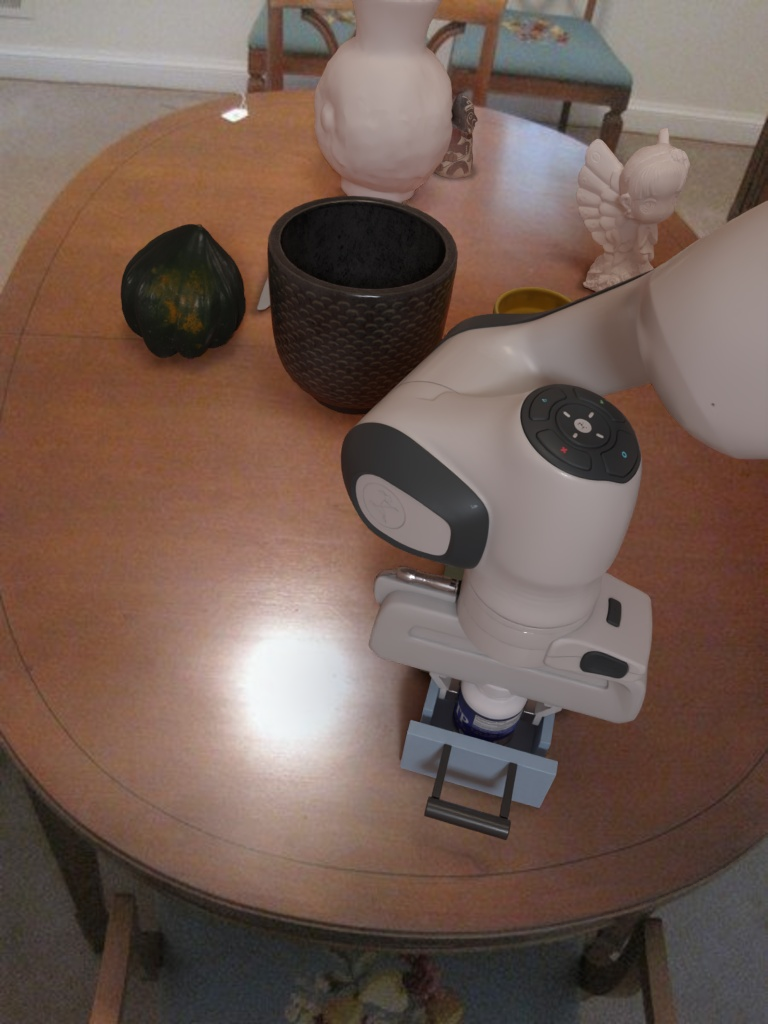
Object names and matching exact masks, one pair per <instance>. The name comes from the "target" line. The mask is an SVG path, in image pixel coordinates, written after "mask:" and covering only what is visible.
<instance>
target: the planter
mask: <svg viewBox="0 0 768 1024" xmlns="http://www.w3.org/2000/svg"><path fill="white" fill-rule="evenodd" d="M266 249H267V251H266V252H267V253H266V255H267V256H266V257H267V278H268V283H269V295H270V305H269V307H270V317H271V319H270V320H271V328H272V329H271V330H272V334H273V339H274V345H275V349H276V352H277V355H278V358H279V359H280V360H279V361H280V362H281V364H282V366H283V368H284V370H285V372H286V374H287V375H288V376H289V377H290V379H291V380H292V381H293V382H294V383H295V384H296V385H297V386H298V387H299V388H300V389H301V390H302V391H303V392H305V393H307V394H308V395H310V396H311V397H312V398H314V400H315V401H316V402H318V403H319V404H320V405H322V406H323V407H325V408H326V409H328V410H331V411H333V412H336V413H340V414H343V415H351V416H362V415H363V416H365V415H366V414H367V413H368V412H369V411H370V410H371V409H372V408H373V407H374V406H375V405H376V404H378V403H379V402H380V401H381V400H382V399H383V398H384V397H385V396H386V395H387V394H388V393H389V392H390V391H391V390H392V389H393V388H394V387H395V386H396V385H398V384H399V383H400V382H401V381H402V380H403V379H404V378H405V377H406V376H407V375H408V374H409V373H410V372H412V371H413V370H414V369H415V368H416V367H417V366H418V365H419V364H420V363H421V362H422V361H423V360H424V359H426V358H427V357H428V356H429V354H430V353H431V352H432V350H433V349H434V348H435V347H436V346H437V345H438V344H439V342H440V341H441V340H442V339H443V338H444V332H445V328H446V324H447V320H448V316H449V311H450V306H451V301H452V296H453V290H454V283H455V279H456V274H457V268H458V259H459V252H458V247H457V243H456V241H455V239H454V237H453V235H452V233H450V230H448V228H447V227H445V226H444V225H443V223H441V222H440V221H439V220H438V219H436V218H434V217H433V216H432V215H430V214H429V213H426V212H425V211H423V210H421V209H419V208H416V207H414V206H411V205H409V204H406V203H404V202H402V203H399V202H396V201H392V200H387V199H382V198H375V197H368V196H348V195H339V196H329V197H324V198H318V199H315V200H314V199H313V200H311V201H307V202H304V203H302V204H299V205H297V206H295V207H293V208H291V209H289V210H288V211H287V212H285V213H283V215H280V217H279V218H278V219H277V220H276V221H275V223H274V224H273V225H272V227H271V229H270V231H269V233H268V238H267V248H266Z"/></svg>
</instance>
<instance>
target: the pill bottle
mask: <svg viewBox="0 0 768 1024" xmlns="http://www.w3.org/2000/svg"><path fill="white" fill-rule="evenodd" d="M526 701H527V698H523V697H519V696H516V695H512V694H510V692H509V690H507V689H504V688H500V687H497V686H493V685H489V684H487V685H484V686H480V685H476V684H472V683H469V682H465V681H461V684H460V689H459V693H458V697H457V700H456V703H455V706H454V710H453V714H452V726H453V729H454V732H456V733H460V734H463V735H467V736H470V737H474V738H477V739H481V740H484V741H488V742H491V743H495V744H498V745H502V746H506V745H507V744H508V743H509V742H510V740H511V739H512V737H513V735H514V732H515V730H516V727H517V724H518V722H519V719H520V717H521V714H522V712H523V709H524V707H525V705H526Z"/></svg>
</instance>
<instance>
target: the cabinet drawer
mask: <svg viewBox="0 0 768 1024" xmlns="http://www.w3.org/2000/svg"><path fill="white" fill-rule="evenodd" d="M439 692H440V688H439V687H438V686H437V684H436V683H435V682H434V680H433V679H432V677H430V682H429V685H428V689H427V693H426V697H425V700H424V704H423V708H422V711H421V716H420V721H418V720H413V719H410V721H409V724H408V728H407V732H406V736H405V741H404V746H403V750H402V755H401V760H400V765H399V769H403V770H406V771H409V772H413V773H416V774H420V775H424V776H427V777H431V778H434V779H435V780H434V784H433V787H432V792H431V795H429V796H427V801H426V805H425V809H424V813H423V816H424V817H426V818H429V819H432V820H436V821H439V822H442V823H446V824H449V825H453V826H455V827H459V828H462V829H466V830H470V831H474V832H476V833H480V834H483V835H486V836H489V837H493V838H496V839H500V840H504V841H507V840H508V838H509V834H510V832H511V825H512V820H511V819H509V817H510V811H511V806H512V801H513V802H517V803H520V804H523V805H527V806H530V807H534V808H537V809H540V808H541V807H542V804H543V802H544V800H545V798H546V796H547V794H548V793H549V790H550V788H551V787H552V784H553V782H554V780H555V779H556V776H557V772H558V765H559V762H558V760H555V759H551V758H547V757H546V755H547V753H548V751H549V749H550V747H551V744H552V739H553V731H554V725H555V718H556V713H553V714H550V715H547V716H545V717H543V716H542V718H541V721H540V723H539V725H538V726H537V725H534V724H530V723H527V722H524V721H520V719H519V722H518V724H517V727H516V730H515V732H514V735H513V737H512V739H511V740H510V742H509V743H508V744H507V745H506V746H502V745H498V744H495V743H491V742H488V741H484V740H481V739H477V738H474V737H470V736H467V735H463V734H460V733H456V732H454V729H453V726H452V714H453V710H454V706H455V703H456V702H452V701H448V700H444V699H445V698H444V699H440V698H438V696H439ZM444 782H448V783H451V784H454V785H457V786H461V787H465V788H467V789H471V790H475V791H478V792H481V793H482V792H483V793H485V794H489V795H493V796H496V797H499V798H502V799H501V804H500V810H499V814H498V815H496V814H492V813H488V812H485V811H481V810H479V809H474V808H471V807H468V806H464V805H461V804H458V803H454V802H451V801H447V800H444V799H440V798H441V795H442V790H443V786H444Z"/></svg>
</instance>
